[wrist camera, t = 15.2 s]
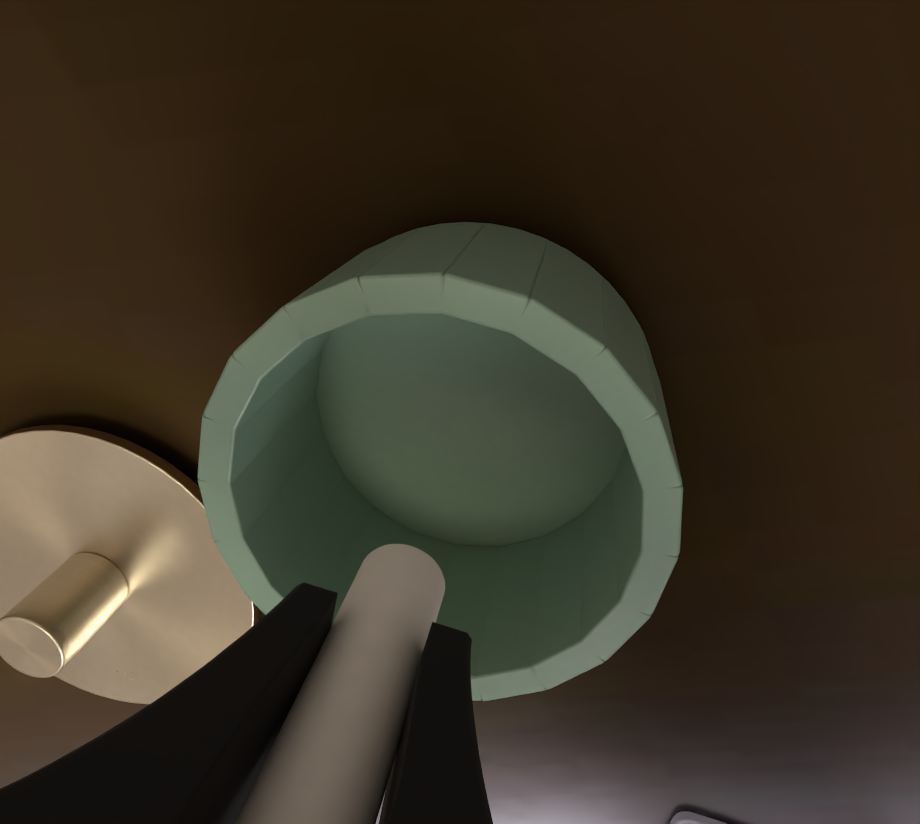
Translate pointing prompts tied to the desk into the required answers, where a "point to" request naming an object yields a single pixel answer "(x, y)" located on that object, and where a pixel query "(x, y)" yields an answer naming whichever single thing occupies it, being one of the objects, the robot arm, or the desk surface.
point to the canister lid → (108, 566)
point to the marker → (352, 699)
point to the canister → (455, 447)
